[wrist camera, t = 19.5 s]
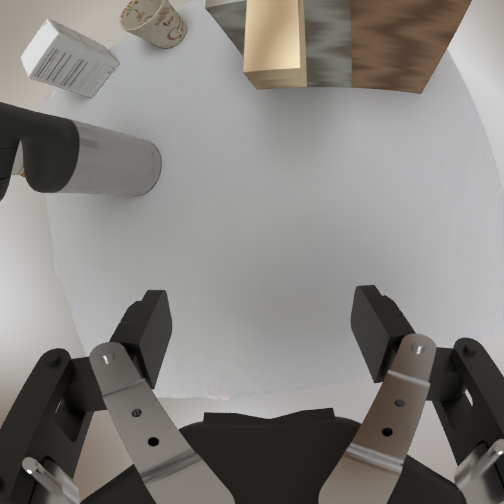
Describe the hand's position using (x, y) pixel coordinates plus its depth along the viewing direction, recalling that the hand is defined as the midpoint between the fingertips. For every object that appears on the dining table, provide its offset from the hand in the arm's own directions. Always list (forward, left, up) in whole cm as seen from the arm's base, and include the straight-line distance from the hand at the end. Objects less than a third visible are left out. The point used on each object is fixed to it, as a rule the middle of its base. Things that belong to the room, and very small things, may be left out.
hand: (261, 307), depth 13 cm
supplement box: (-43, +33, -29) cm, 61 cm away
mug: (-27, +37, -29) cm, 54 cm away
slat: (-1, +25, -8) cm, 26 cm away
